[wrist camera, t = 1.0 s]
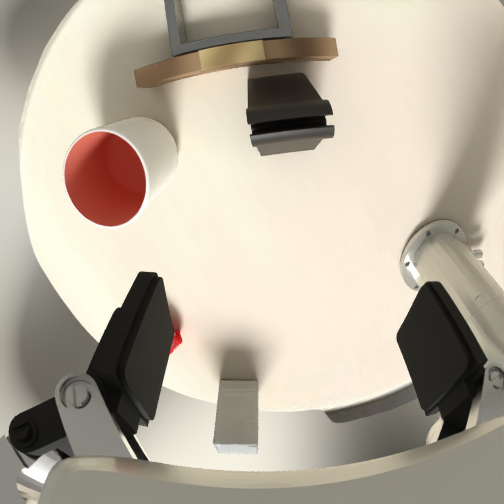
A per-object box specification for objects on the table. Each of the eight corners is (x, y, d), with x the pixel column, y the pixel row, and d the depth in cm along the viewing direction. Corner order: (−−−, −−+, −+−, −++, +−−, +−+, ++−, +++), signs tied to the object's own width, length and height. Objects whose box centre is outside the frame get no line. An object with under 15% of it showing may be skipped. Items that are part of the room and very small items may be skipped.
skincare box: (223, 392, 58) (215, 453, 44) (219, 376, 54) (210, 444, 41) (260, 393, 57) (257, 456, 44) (259, 378, 53) (257, 447, 40)
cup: (103, 124, 28) (54, 140, 20) (176, 109, 28) (140, 117, 19) (116, 196, 33) (76, 231, 25) (185, 189, 33) (158, 226, 24)
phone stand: (247, 79, 26) (237, 68, 15) (302, 73, 25) (325, 59, 15) (261, 155, 30) (258, 189, 20) (313, 149, 30) (339, 180, 19)
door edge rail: (326, 44, 23) (336, 37, 19) (329, 60, 24) (339, 56, 20) (148, 71, 25) (132, 69, 21) (151, 87, 26) (135, 87, 22)
